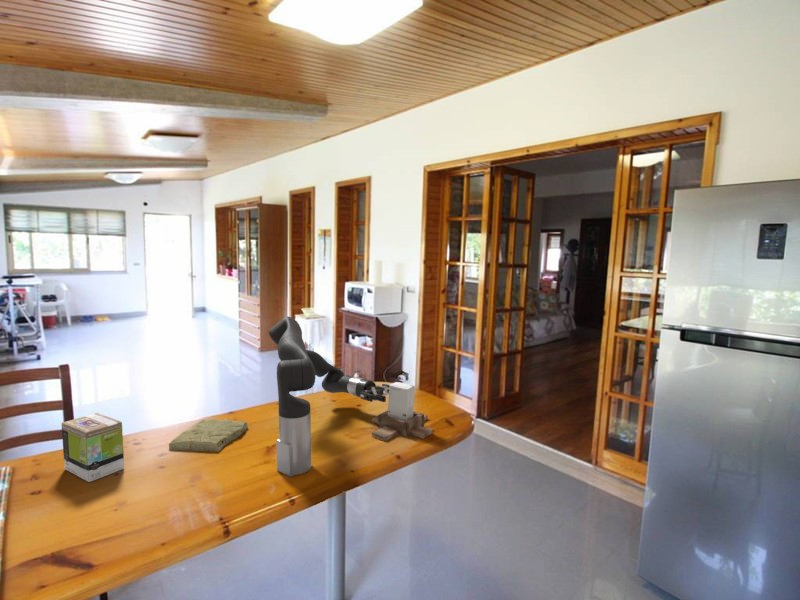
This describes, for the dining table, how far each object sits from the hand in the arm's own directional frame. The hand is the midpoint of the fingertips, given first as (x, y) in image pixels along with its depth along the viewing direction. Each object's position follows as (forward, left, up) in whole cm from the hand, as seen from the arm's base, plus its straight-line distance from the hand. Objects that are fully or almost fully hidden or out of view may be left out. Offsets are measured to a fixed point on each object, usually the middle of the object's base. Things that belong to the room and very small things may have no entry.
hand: (392, 396), depth 161 cm
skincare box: (0, -4, -10) cm, 11 cm away
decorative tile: (-49, +42, -12) cm, 65 cm away
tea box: (-82, +48, -11) cm, 96 cm away
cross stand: (0, -4, -11) cm, 12 cm away
